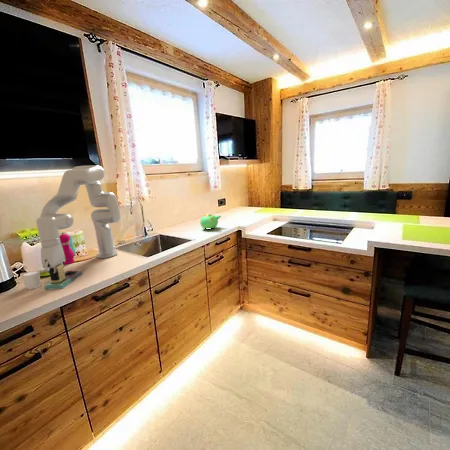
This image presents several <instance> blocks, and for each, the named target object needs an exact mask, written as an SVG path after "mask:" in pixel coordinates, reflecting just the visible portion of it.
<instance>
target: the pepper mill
mask: <svg viewBox="0 0 450 450" xmlns="http://www.w3.org/2000/svg"><path fill="white" fill-rule="evenodd" d="M59 236H60V241H61V245H62V247H63V251H64V255H65V259H66V261H65V262H64V266H65V265H70V264H71V265H72V264H73V263H75V261H76V260H75V252H74V251H73V250H72V248H71V246H70V244H71V242H70V240H71V237H70V235H69V234H67V233H65V231H62V232H61V234H59Z"/></svg>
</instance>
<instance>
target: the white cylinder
mask: <svg viewBox="0 0 450 450" xmlns="http://www.w3.org/2000/svg"><path fill="white" fill-rule="evenodd" d="M40 274H41V273H40V271H39V270H32V271H27V272H25V273H23V274H21V278H22V281H23V283H24V286H25V289H26V290H33V289H36V288H39V287H40V286H41V284H42V283H41V275H40Z"/></svg>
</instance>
